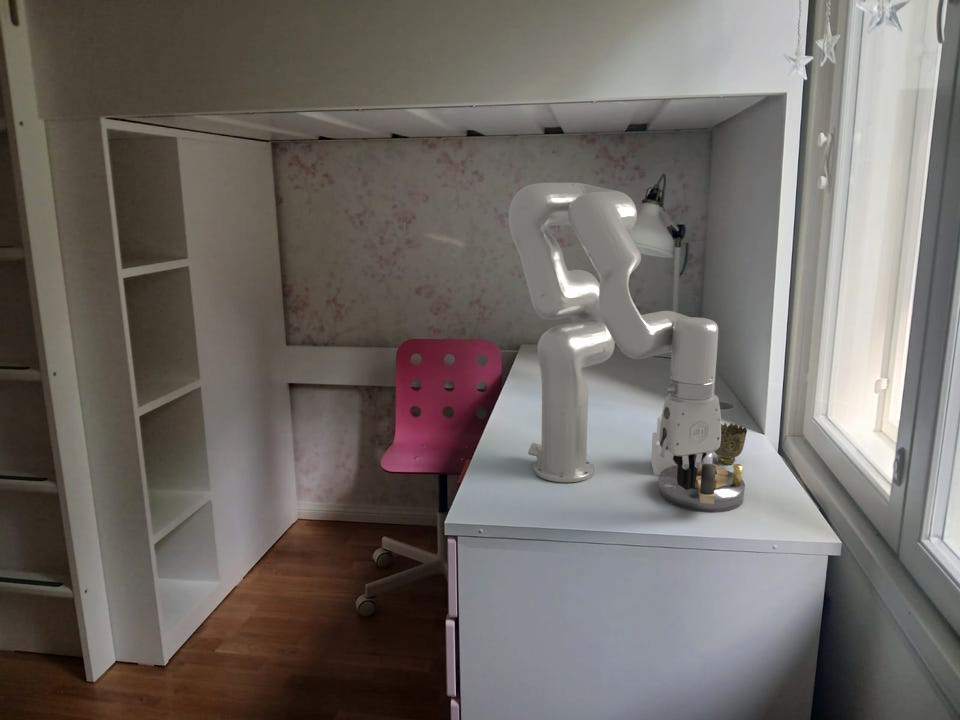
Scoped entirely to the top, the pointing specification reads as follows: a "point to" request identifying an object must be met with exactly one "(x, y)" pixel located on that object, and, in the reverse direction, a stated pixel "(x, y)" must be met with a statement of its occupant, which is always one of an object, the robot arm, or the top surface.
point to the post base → (689, 499)
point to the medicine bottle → (658, 453)
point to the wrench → (710, 481)
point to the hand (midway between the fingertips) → (686, 486)
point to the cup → (731, 443)
